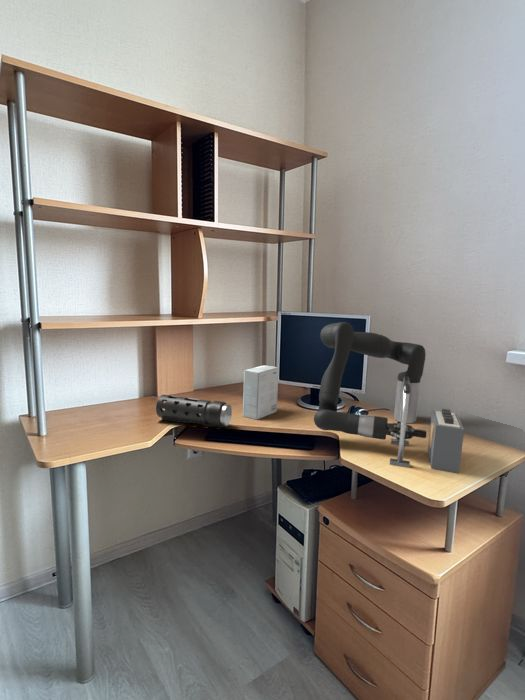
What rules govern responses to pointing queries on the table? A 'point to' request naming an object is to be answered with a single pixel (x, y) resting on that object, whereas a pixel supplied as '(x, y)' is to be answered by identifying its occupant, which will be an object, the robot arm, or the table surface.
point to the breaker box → (446, 441)
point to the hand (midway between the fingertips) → (426, 434)
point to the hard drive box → (260, 391)
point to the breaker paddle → (431, 434)
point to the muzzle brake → (194, 411)
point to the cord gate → (402, 426)
